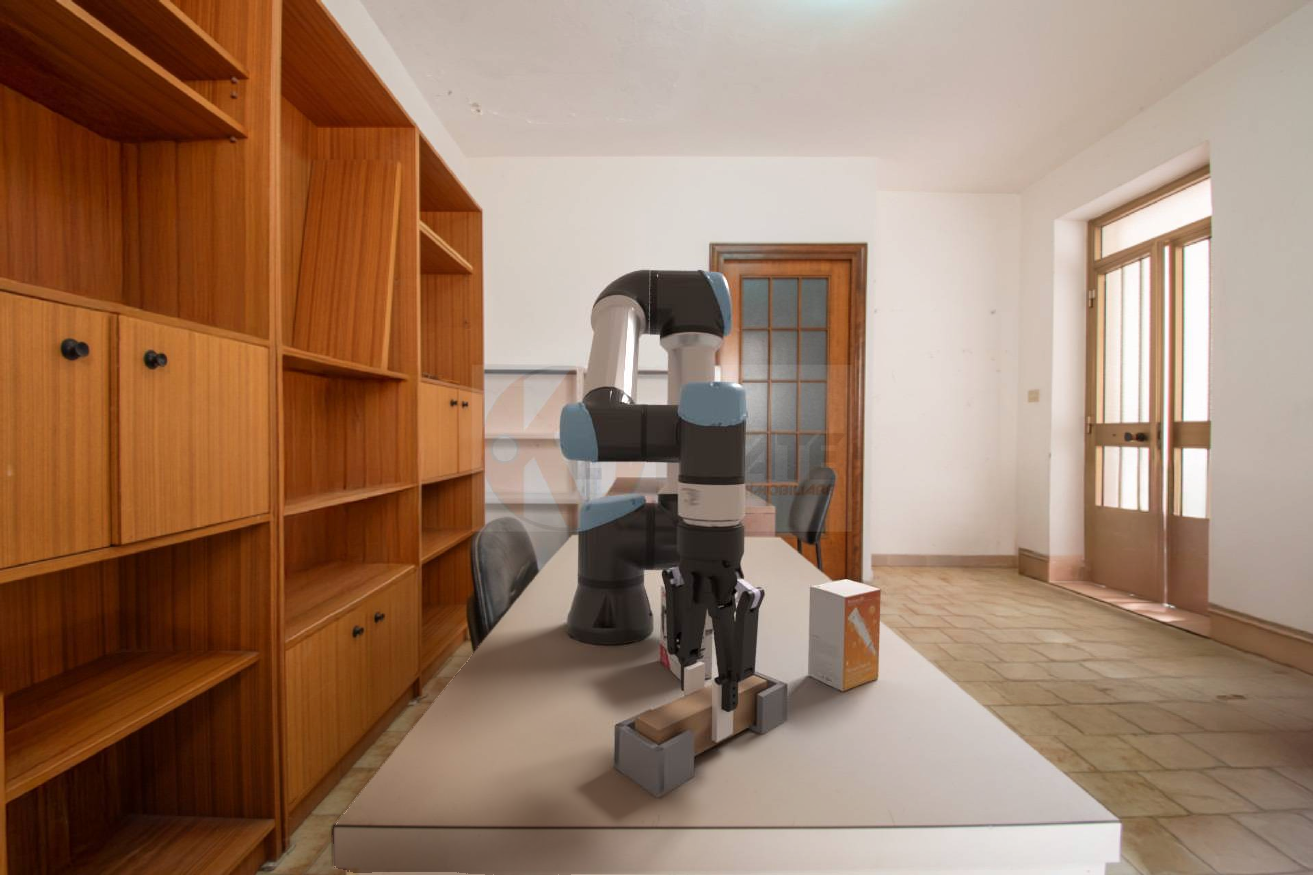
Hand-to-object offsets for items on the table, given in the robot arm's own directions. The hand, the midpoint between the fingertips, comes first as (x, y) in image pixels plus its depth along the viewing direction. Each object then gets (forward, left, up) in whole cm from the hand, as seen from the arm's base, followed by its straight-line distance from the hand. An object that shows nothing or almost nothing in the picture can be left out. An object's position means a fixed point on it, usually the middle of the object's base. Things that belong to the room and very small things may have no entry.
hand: (707, 728), depth 63 cm
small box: (+2, +27, -2) cm, 27 cm away
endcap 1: (0, -8, -2) cm, 8 cm away
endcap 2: (0, +8, -2) cm, 9 cm away
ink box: (-15, +12, -2) cm, 19 cm away
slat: (0, 0, -1) cm, 1 cm away
